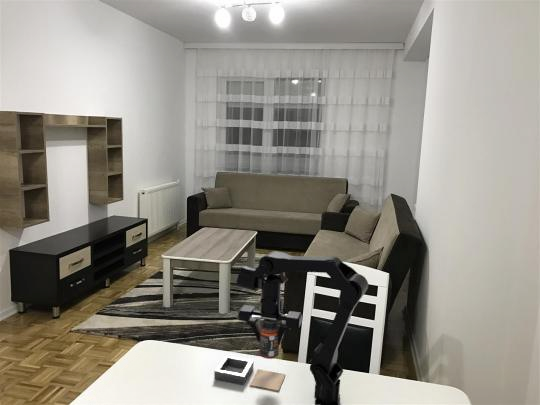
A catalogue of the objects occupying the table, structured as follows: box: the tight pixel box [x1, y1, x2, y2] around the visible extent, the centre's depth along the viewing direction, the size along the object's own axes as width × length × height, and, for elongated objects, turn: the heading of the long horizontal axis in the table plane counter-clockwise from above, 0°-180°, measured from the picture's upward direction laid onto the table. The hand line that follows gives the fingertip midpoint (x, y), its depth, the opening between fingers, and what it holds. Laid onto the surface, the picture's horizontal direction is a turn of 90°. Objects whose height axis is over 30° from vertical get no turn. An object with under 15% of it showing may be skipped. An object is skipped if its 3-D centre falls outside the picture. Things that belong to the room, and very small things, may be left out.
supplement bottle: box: [258, 318, 280, 360], centre depth 138 cm, size 6×6×11 cm
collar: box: [213, 354, 254, 386], centre depth 143 cm, size 10×10×3 cm
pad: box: [249, 369, 286, 392], centre depth 140 cm, size 9×9×1 cm
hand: (269, 342), depth 138 cm, fingers closed on supplement bottle, 6 cm apart
